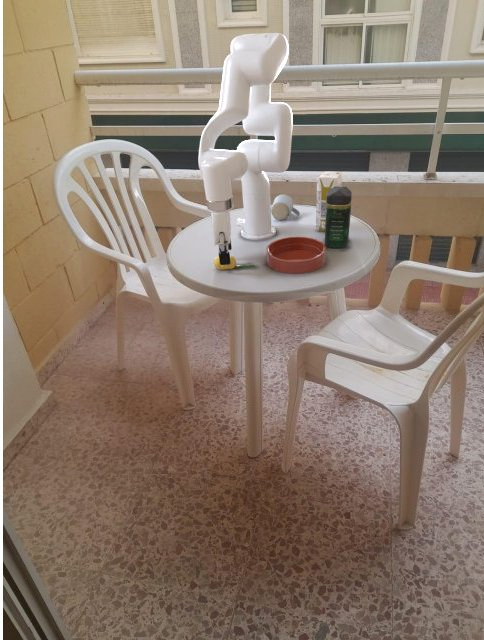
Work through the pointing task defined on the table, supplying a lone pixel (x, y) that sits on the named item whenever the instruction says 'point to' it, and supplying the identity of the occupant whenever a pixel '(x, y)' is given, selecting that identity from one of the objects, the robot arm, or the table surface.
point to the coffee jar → (337, 217)
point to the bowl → (296, 255)
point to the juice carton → (323, 186)
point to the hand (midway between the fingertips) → (226, 256)
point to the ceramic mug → (283, 208)
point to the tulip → (231, 266)
